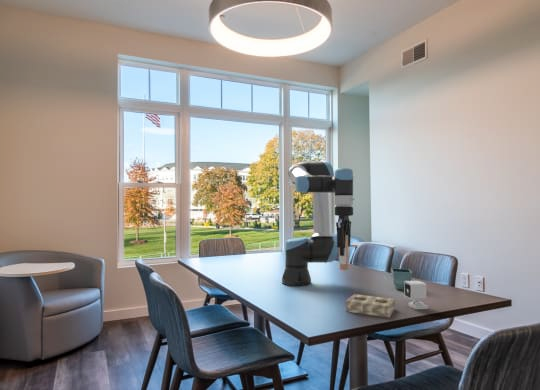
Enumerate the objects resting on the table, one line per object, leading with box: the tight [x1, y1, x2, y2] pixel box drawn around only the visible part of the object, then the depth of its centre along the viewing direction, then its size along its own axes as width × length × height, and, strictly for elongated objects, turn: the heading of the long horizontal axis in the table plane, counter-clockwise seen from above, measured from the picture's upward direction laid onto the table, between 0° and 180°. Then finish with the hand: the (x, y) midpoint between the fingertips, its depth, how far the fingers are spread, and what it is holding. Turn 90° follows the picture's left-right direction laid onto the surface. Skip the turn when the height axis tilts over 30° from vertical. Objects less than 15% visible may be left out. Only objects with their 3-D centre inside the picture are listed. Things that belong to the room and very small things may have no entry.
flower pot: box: [390, 268, 413, 291], centre depth 178 cm, size 9×9×9 cm
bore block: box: [345, 293, 396, 319], centre depth 142 cm, size 16×12×4 cm
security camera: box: [403, 280, 429, 310], centre depth 146 cm, size 6×7×10 cm
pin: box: [339, 235, 349, 271], centre depth 151 cm, size 3×3×14 cm
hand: (344, 262), depth 150 cm, fingers closed on pin, 3 cm apart
